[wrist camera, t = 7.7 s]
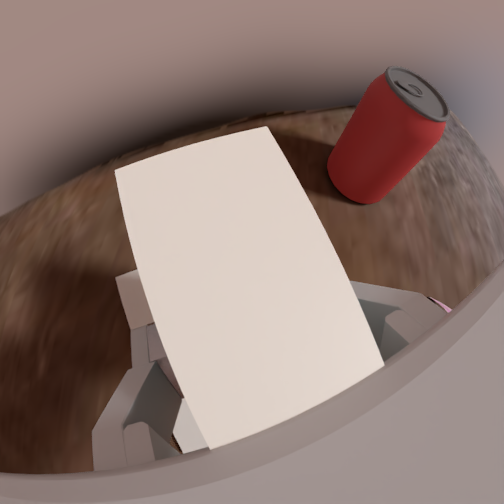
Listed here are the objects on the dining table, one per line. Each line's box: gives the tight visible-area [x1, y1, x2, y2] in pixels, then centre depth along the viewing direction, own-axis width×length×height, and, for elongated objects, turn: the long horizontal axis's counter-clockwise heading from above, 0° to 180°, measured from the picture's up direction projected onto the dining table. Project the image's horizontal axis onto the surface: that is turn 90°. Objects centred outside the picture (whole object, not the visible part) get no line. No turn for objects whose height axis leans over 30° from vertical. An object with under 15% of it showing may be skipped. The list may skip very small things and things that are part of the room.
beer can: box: [327, 66, 450, 204], centre depth 20 cm, size 7×7×12 cm
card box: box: [115, 126, 385, 450], centre depth 9 cm, size 3×6×10 cm, turn 23°
